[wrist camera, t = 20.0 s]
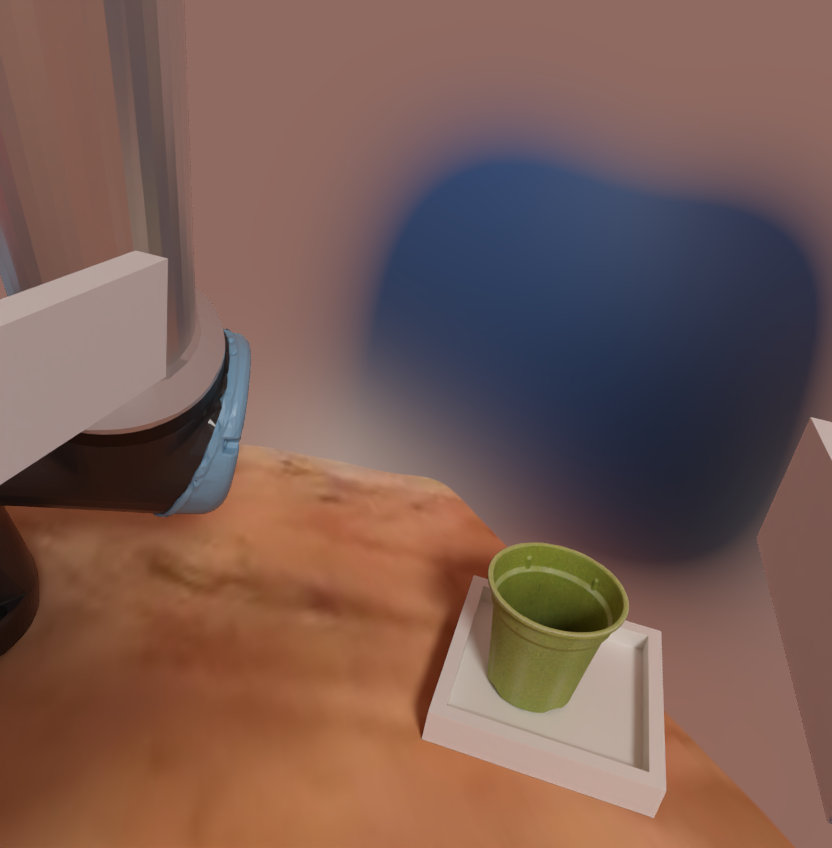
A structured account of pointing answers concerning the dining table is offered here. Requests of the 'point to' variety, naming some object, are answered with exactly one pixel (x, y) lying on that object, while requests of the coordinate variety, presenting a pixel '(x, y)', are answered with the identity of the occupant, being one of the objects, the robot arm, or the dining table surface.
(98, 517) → the dining table surface
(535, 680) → the plant pot
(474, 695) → the pot tray
